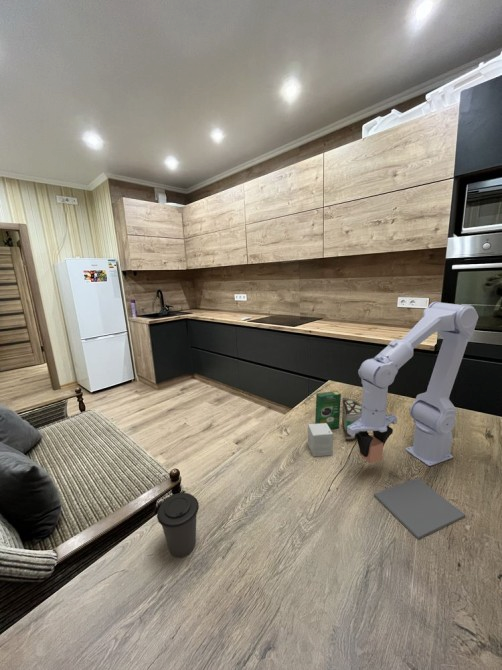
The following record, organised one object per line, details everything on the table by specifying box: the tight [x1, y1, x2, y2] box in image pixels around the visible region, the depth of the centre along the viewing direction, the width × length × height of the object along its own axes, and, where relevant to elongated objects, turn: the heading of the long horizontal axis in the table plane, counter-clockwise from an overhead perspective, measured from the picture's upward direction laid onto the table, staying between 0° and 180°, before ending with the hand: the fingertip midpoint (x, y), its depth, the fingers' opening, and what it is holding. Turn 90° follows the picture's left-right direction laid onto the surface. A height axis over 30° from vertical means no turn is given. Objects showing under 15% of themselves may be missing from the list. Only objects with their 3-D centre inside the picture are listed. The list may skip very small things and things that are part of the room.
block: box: [358, 434, 384, 464], centre depth 74 cm, size 4×4×5 cm
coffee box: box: [314, 390, 342, 430], centre depth 95 cm, size 8×3×13 cm, turn 103°
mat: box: [373, 477, 466, 540], centre depth 64 cm, size 14×12×1 cm
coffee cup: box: [156, 492, 200, 559], centre depth 56 cm, size 8×8×10 cm
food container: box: [341, 397, 362, 442], centre depth 92 cm, size 12×6×10 cm, turn 168°
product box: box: [307, 423, 334, 457], centre depth 84 cm, size 6×6×7 cm
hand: (370, 452), depth 74 cm, fingers closed on block, 4 cm apart
